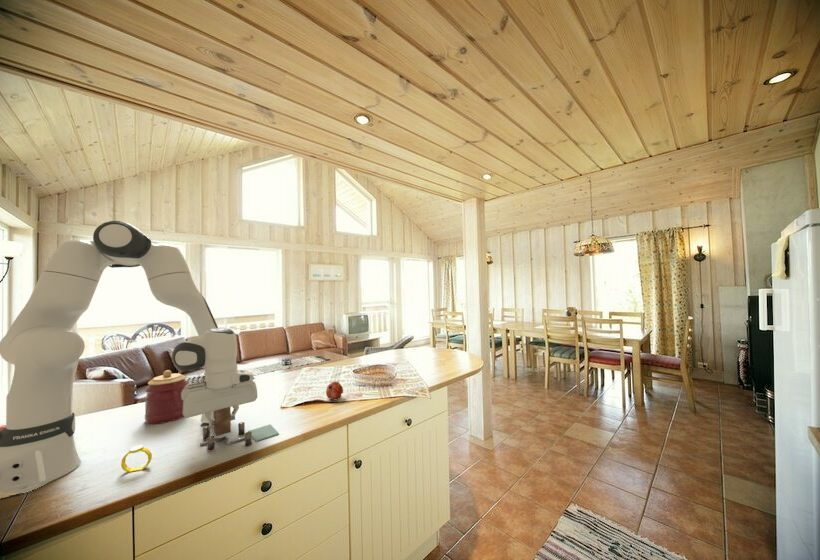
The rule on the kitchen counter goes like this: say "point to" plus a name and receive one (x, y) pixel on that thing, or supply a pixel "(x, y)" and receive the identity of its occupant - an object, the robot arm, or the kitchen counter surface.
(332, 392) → the pomegranate
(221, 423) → the block
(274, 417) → the kitchen counter surface
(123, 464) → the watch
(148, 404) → the canister
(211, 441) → the gates
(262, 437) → the mat
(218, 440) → the wire
